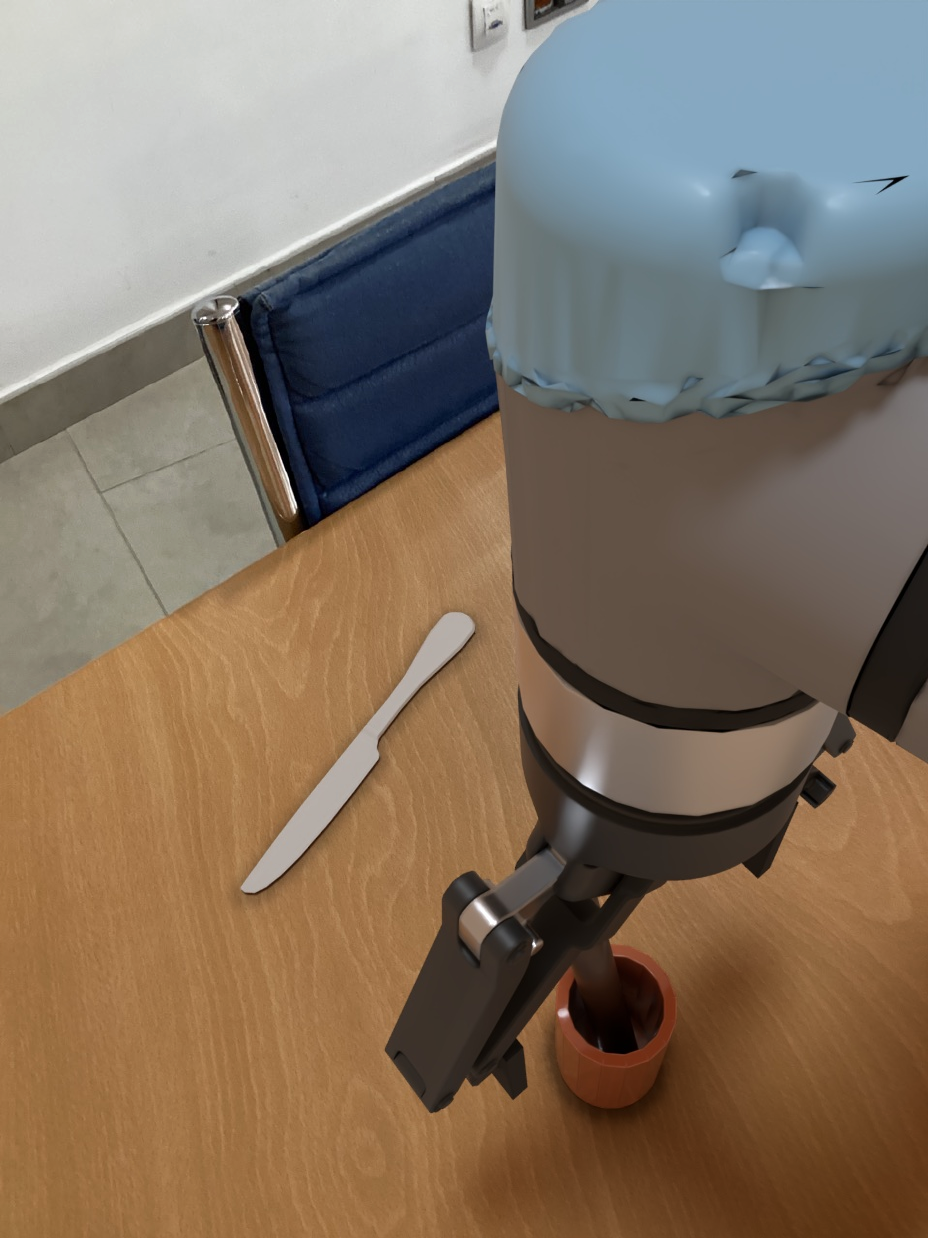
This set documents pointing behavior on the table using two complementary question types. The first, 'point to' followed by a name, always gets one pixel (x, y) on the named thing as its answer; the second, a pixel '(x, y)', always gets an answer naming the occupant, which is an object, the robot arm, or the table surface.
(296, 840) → the butter knife
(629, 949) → the holder
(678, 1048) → the table surface
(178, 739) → the table surface
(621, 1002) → the stick
